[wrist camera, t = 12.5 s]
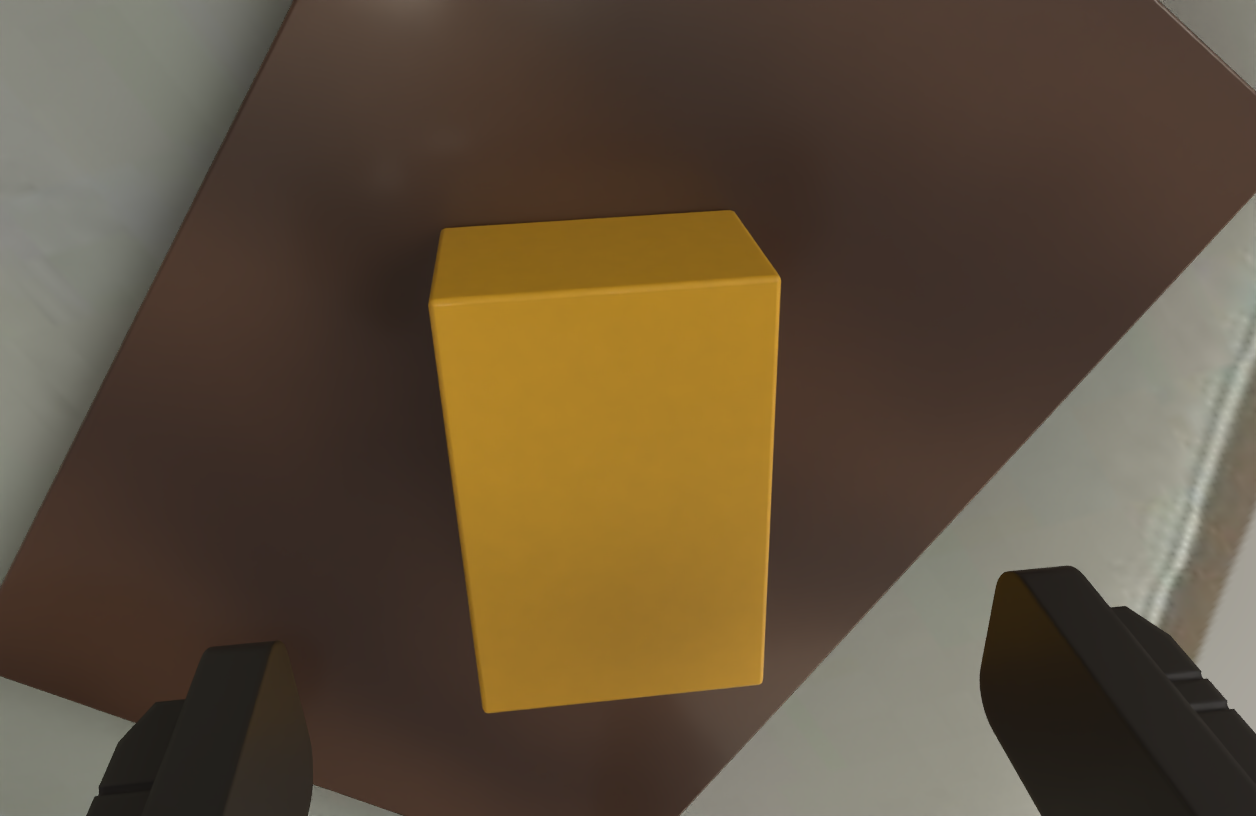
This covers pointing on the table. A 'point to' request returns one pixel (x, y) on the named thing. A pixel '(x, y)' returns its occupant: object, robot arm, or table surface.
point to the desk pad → (588, 189)
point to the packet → (610, 451)
